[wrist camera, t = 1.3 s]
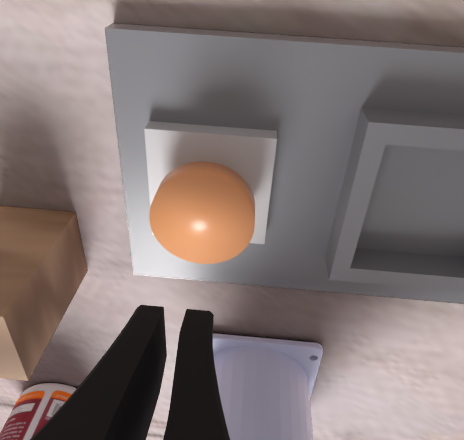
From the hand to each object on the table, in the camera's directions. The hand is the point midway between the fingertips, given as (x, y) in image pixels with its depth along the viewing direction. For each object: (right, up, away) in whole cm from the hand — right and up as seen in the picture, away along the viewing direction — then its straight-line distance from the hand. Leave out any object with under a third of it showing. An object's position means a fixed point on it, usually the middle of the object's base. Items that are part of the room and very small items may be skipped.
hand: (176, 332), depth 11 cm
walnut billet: (-9, +2, +11) cm, 14 cm away
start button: (0, +4, +5) cm, 6 cm away
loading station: (+6, +5, +8) cm, 11 cm away
